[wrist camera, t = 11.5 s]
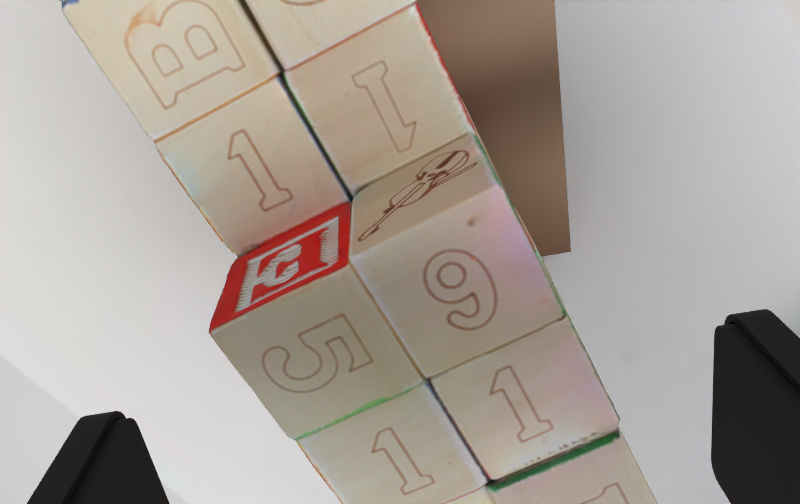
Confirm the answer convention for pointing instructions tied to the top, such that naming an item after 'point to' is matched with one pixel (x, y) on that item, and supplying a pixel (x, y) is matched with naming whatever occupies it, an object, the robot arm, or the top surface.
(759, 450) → the robot arm
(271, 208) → the stack of blocks
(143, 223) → the top surface
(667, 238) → the top surface
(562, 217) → the walnut base brick
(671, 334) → the top surface
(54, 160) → the top surface
